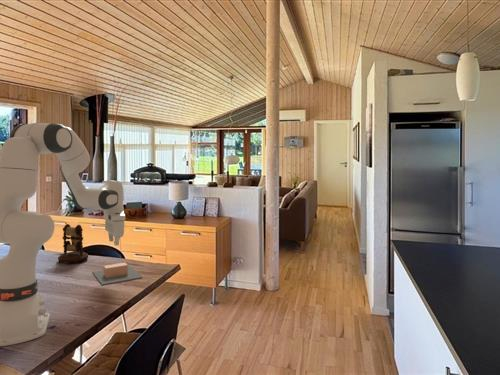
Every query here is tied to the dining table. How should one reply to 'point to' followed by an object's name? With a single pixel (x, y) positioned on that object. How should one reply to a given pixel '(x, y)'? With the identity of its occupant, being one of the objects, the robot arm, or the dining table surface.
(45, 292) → the dining table surface
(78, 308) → the dining table surface
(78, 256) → the dark brown ornate stand
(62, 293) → the dining table surface
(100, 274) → the flat slab
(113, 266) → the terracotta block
